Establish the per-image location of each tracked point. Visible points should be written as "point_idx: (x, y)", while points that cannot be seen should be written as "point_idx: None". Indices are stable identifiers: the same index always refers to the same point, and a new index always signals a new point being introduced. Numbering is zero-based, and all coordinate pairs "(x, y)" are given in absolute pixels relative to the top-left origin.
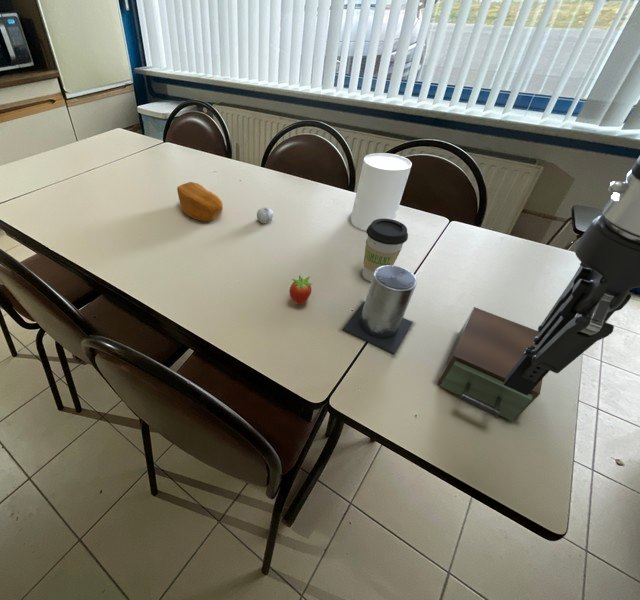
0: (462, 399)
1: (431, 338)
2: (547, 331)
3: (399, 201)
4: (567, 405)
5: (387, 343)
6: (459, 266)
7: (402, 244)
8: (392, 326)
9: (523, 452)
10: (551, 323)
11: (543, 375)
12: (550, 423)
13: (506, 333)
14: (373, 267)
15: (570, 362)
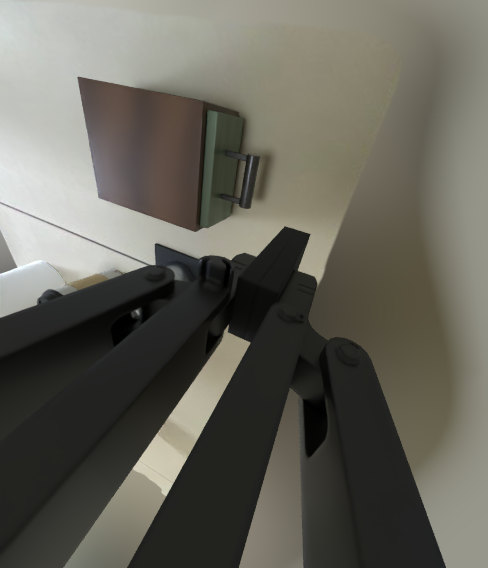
0: (250, 205)
1: (164, 221)
2: (190, 381)
3: (5, 277)
4: (174, 20)
5: (198, 271)
6: (41, 186)
7: (65, 291)
8: (179, 279)
9: (286, 97)
10: (163, 421)
11: (293, 266)
12: (219, 51)
13: (116, 153)
14: None
15: (410, 473)
